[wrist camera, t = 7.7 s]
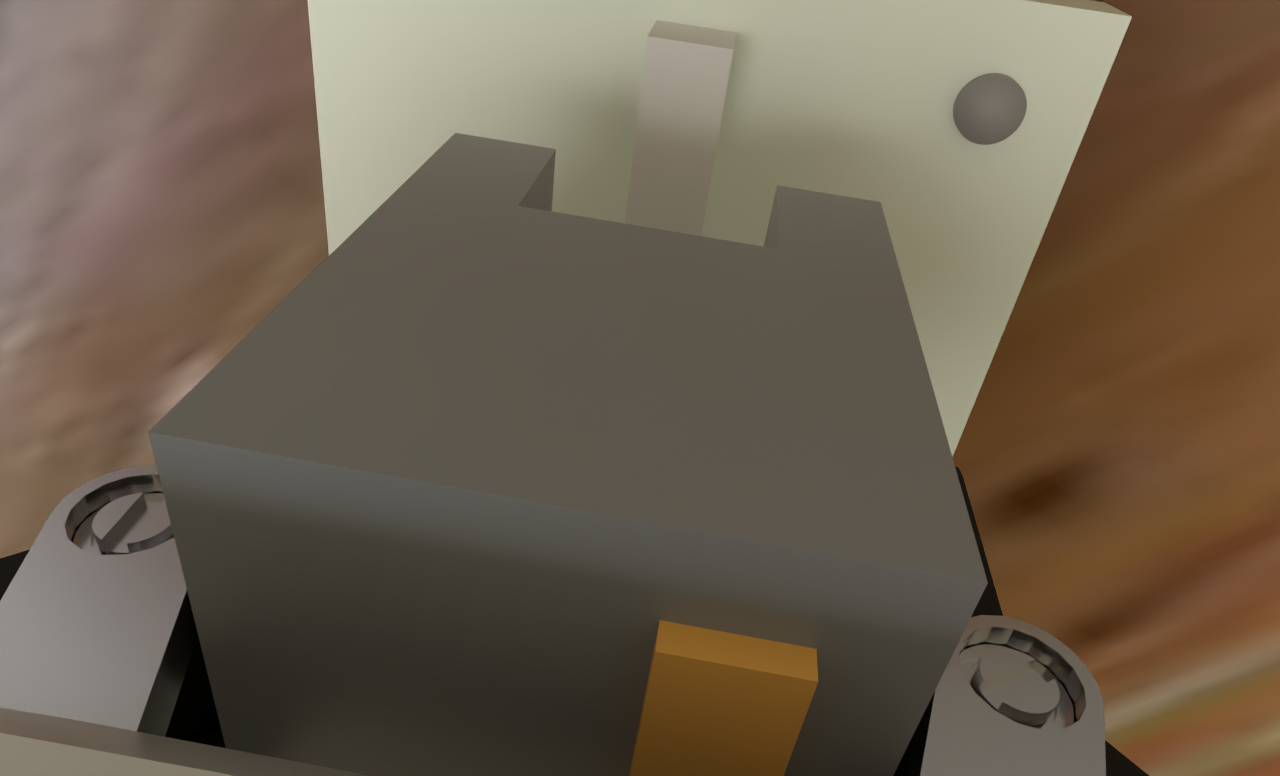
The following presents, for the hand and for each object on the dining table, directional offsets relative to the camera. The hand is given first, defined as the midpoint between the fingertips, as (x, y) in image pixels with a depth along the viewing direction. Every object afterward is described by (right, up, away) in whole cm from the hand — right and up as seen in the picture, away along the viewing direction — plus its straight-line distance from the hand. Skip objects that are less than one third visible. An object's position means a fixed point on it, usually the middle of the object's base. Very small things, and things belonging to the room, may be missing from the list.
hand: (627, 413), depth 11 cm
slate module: (0, 0, +1) cm, 1 cm away
